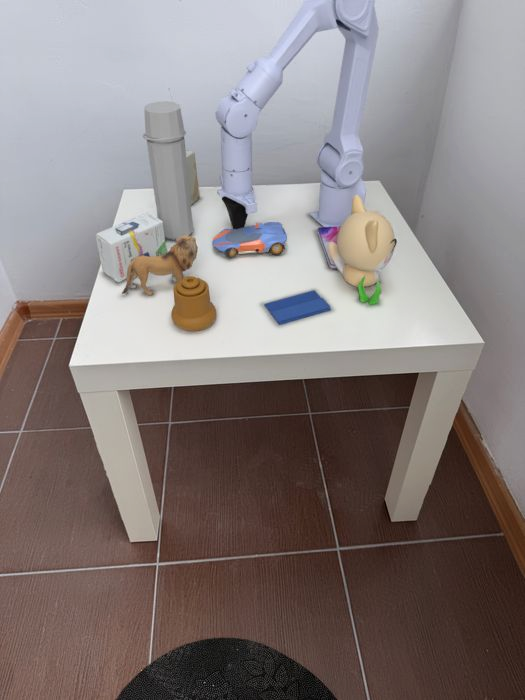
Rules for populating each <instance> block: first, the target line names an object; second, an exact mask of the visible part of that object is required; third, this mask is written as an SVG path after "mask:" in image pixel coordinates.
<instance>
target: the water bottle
mask: <svg viewBox="0 0 525 700" xmlns="http://www.w3.org/2000/svg"><path fill="white" fill-rule="evenodd" d="M143 109H144V111H143V112H144V128H145V132H144V134H142V138H143V139H144V140H146V146H147V153H148V159H149V167H150V175H151V180H152V187H153V194H154V201H155V207H156V214H157V218H158V219H160V220H161V221H163V229H164V236H165V239H168V240H173V241H176V239H177V238H179V237H181V236H183V235H189V236H191V234H192V233H193V232H194V223H193V213H192V212H193V211H192V205H191V201H190V191H189V180H188V170H187V159H186V150H187V148H186V141H185V140H186V139H185V136H186V134H187V130H185V125H184V120H183V114H182V110H181V104H179V103H177V102H174V101H167V100H166V101H163V100H162V101H154V102H150V103H147V104H146V105H144V106H143Z"/></svg>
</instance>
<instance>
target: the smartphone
mask: <svg viewBox="0 0 525 700" xmlns="http://www.w3.org/2000/svg"><path fill="white" fill-rule="evenodd" d="M340 228H341V226H333V227H323V226H320V227H317V228H316V233H317V236H318V239H319V241H320V244H321V247H322V250H323V252H324V256H325V259H326V261H327V264H328V267H329V268H330V269H337V267H336V265H335V263H334V261H333V259H332V258H331V256H330V255H329V253H328V244H329V243H330V242H334V243H335V244H336V245H337V237H338V233H339V231H340ZM341 259H342V258H341ZM342 261H343V262H344V264H345V265H346V264H347V263H346V262H345V261H344V260H343V259H342Z"/></svg>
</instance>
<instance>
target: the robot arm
mask: <svg viewBox="0 0 525 700" xmlns="http://www.w3.org/2000/svg"><path fill="white" fill-rule="evenodd" d="M375 4H376V0H303V3H302V4H301V6H300V8H299V9H298V11H297V12H296V13H295V15H294V17H293V18H292V20H291V21H290V22H289V24H288V25H287V27H286V28H285V30H284V31H283V33H282V35H281V36H280V37H279V39H278V40H277V42H276V43H275V45H274V47H273V48H272V49H271V51H270V52H269V54H268V55H267V56H264V57H257V59H256V60H254V62H253V61H250V62H249V63H248V65H247V66H246V69H247V71H246V73H245V74H244V75H243V77H242V78H241V80H240V81H239V82H238V84H237V85H236V87H232V88H231V89H230V91H229V94H228V95H227V96H224V97H223V98H221V100H220V101H219V103H218V104H217V108H216V109H217V110H216V111H215V112H214V117H215V120H216V121H217V122H218V124H219V125H220V151H221V155H220V156H221V173H222V174H219V185H221V188H219V189H217V191H216V192H217V195H218V196H219V197H221V200H222V202H223V204H224V206H225V208H226V211H227V213H228V216H229V220H230V225H231V229H239V228H242V227H246V223H247V219H248V217H249V215H250V214H255V213H258V202H257V201H256V199H255V192H254V187H253V141H252V140H253V139H252V137H253V136H252V135H253V134H252V132H253V131H255V130H256V128H257V125H258V118H259V115H260V114H261V112H262V110H263V109H264V108H265V106H266V105H267V104H268V102H269V101H270V100H271V98H272V97H273V96H274V95H275V93H276V92H277V91H278V89H279V88H280V87H281V86H282V84H283V81H284V80H283V79H284V78H283V76H284V75H283V73H284V70H285V69H286V68H287V67H288V66H289V65H290V63H291V62H292V61H293V60H294V59H295V58H296V56H297V55H298V54H299V53H300V51H302V49H304V47H305V46H306V45H307V44H308V43H309V41H310V40H311V39H312V38H313V36H315V34H317V33H319V32H324V31H329V30H335V29H338V31H339V32H340V34H342V36H343V37H344V39H345V43H344V49H343V55H342V61H341V67H340V74H339V80H338V84H337V85H338V86H337V93H336V99H335V103H334V104H335V105H334V111H333V117H332V123H331V130H329V131H328V132H327V133H326V134H325V135H324V136H323V142H322V145H321V147H320V149H319V150H318V153H317V156H316V163H317V166H318V168H320V170H321V172H320V184H319V185H320V186H319V196H318V205H317V210H315V211H311V212H310V213H309V215H310V216H311V217H312V218H313V219H314V220H315V221H316V222H317V223H318V224H319V225H321V227H333V226H342V225H343V223H344V222H345V220H346V219H347V218H348V217H349V216H351V209H352V201H353V197H354V196H355V195H358V196H360V198H361V199H362V202H363V205H364V206H365V203H366V194H367V188H366V183H365V181H364V179H363V178H362V176H363V174H364V170H365V165H364V161H363V155H364V148H363V144H362V142H361V139H360V136H359V135H360V129H361V124H362V119H363V114H364V109H365V103H366V99H367V93H368V89H369V83H370V78H371V73H372V68H373V63H374V58H375V52H376V48H377V42H378V37H379V30H380V29H379V21H378V17H377V13H376V8H375Z"/></svg>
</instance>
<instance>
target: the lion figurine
mask: <svg viewBox="0 0 525 700" xmlns="http://www.w3.org/2000/svg"><path fill="white" fill-rule="evenodd" d="M175 241H176V243H175V244H174V245H172V246H171V247H170V249H169V250H168V251H167V253H166V254H165V255H162V256H156V257H149V256H139V257H136V258H135V259H133V260H132V261H131V262H130V264H129V267H128V271H127V279H126V284H125V288H124V289H123V290H122V292H121V294H122V295H124V294H127V293H128V291H129V289H135V288H137V287H138V284H137V283H136V282H134V281H135V279H137V278H138V279H139V282H140V285H139V286H140V288H141V290H142V291H144V293H145V294H146V295H147V296H152V295H153V294H154V291H153V289H148V287H147V283H148V278H149V274H152V275H154V276H159V277H163V276H169V275H171V279H172V281H173V282H175V283H178V282H179V281H180V280H181V279H183V278H184V273H185V272H187V271H188V270H190V269H191V268H192V267H193V265H194V262H195V260H196V258H197V253H198V248H199V247H198V245H197V239H196V237H193V236H192V235H183V236H181V237H179V238H177V239H176V240H175ZM132 269H133V271H132ZM131 271H132V274H131Z"/></svg>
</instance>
